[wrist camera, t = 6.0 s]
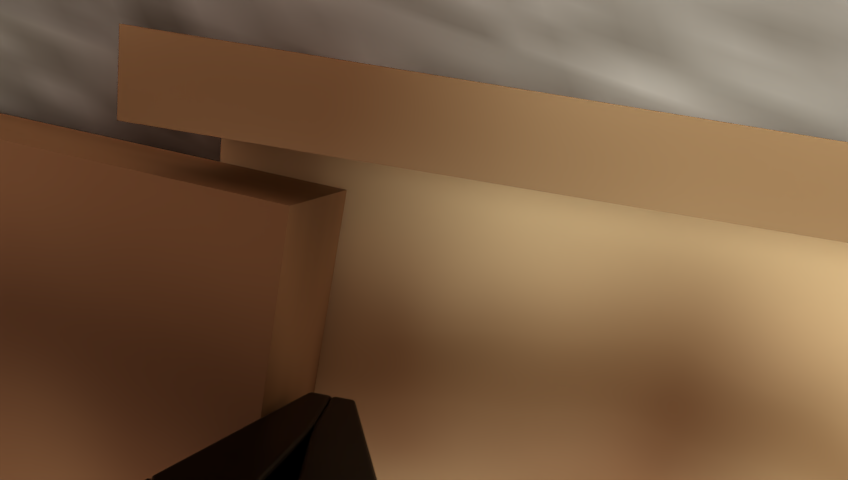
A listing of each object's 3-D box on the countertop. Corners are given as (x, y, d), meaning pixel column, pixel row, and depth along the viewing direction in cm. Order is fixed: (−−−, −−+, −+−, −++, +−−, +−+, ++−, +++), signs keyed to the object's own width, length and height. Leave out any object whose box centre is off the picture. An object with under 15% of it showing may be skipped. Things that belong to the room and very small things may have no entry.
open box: (1074, 711, 12) (1367, 983, 8) (210, 548, 13) (102, 731, 9) (1350, 247, 10) (1970, 324, 6) (249, 66, 10) (119, 23, 6)
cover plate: (292, 526, 11) (230, 635, 8) (-155, 385, 12) (-317, 444, 10) (346, 189, 9) (289, 205, 7) (-178, 73, 11) (-379, 52, 8)
